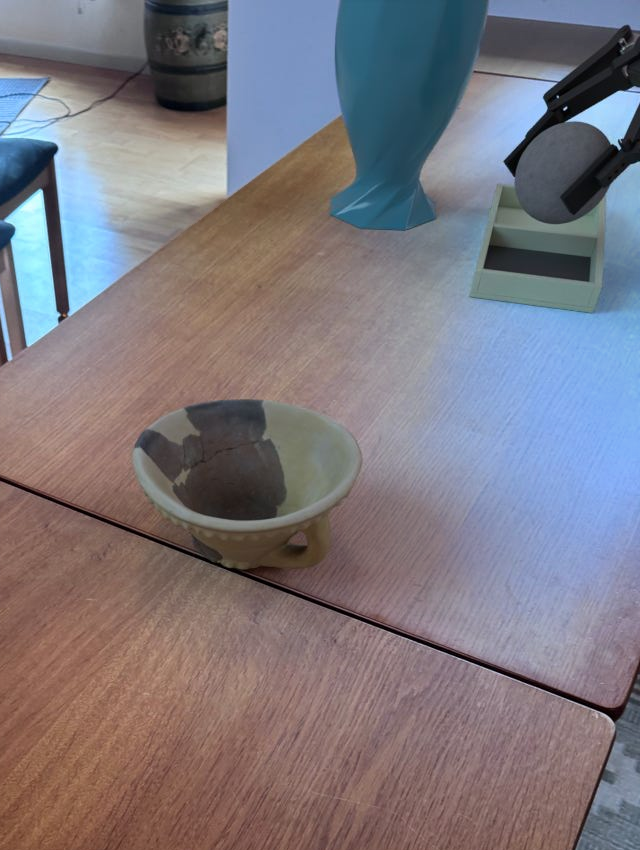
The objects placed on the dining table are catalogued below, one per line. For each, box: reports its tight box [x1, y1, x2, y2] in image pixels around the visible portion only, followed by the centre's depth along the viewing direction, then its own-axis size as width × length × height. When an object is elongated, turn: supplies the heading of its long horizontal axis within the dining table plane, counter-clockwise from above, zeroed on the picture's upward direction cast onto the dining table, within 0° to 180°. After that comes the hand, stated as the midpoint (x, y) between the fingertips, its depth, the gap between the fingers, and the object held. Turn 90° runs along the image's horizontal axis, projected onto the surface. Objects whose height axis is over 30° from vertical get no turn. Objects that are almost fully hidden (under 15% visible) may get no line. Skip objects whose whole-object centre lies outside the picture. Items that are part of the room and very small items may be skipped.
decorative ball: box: [514, 120, 612, 224], centre depth 99 cm, size 10×10×10 cm
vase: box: [328, 0, 490, 231], centre depth 112 cm, size 17×17×30 cm
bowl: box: [131, 398, 364, 570], centre depth 73 cm, size 18×18×10 cm
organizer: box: [468, 183, 607, 314], centre depth 111 cm, size 14×26×3 cm, turn 161°
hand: (537, 187), depth 99 cm, fingers closed on decorative ball, 10 cm apart
